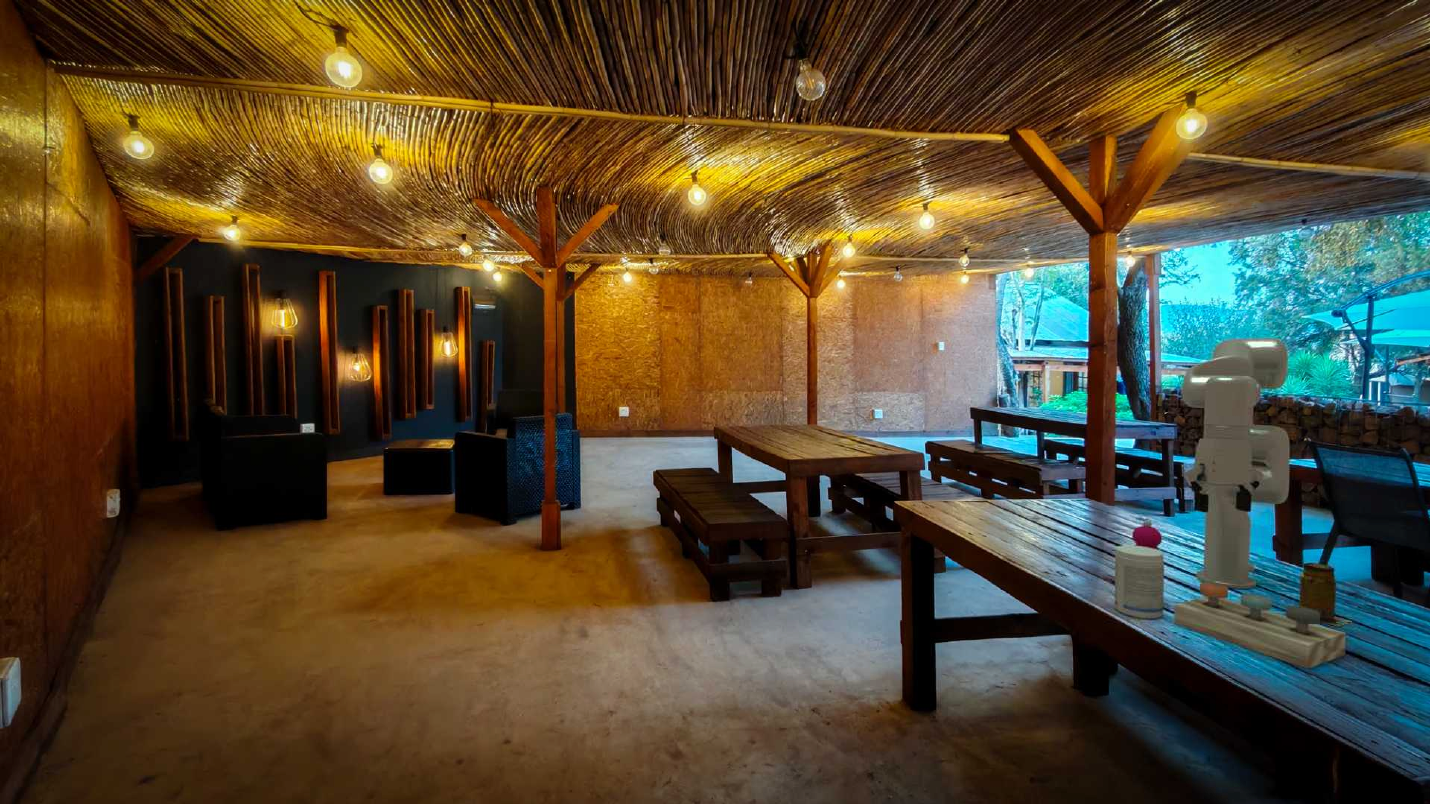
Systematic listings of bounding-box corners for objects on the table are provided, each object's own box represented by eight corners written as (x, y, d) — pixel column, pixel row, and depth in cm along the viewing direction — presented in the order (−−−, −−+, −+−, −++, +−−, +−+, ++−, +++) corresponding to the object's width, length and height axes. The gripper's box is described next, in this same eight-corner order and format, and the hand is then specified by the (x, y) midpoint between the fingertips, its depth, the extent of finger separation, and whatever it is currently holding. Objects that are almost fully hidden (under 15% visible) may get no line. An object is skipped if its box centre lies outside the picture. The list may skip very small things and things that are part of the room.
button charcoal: (1293, 628, 134) (1294, 604, 134) (1324, 638, 129) (1325, 612, 129) (1280, 633, 132) (1281, 608, 132) (1311, 642, 127) (1312, 616, 127)
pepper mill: (1168, 607, 156) (1171, 524, 155) (1134, 605, 158) (1137, 522, 157) (1154, 596, 164) (1157, 517, 163) (1122, 595, 165) (1124, 516, 164)
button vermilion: (1207, 603, 149) (1208, 581, 148) (1232, 610, 144) (1233, 588, 144) (1194, 607, 146) (1194, 584, 146) (1219, 614, 142) (1219, 591, 142)
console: (1211, 614, 152) (1211, 595, 152) (1344, 655, 130) (1345, 632, 130) (1174, 624, 146) (1174, 604, 146) (1307, 668, 124) (1308, 645, 124)
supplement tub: (1173, 618, 150) (1175, 554, 149) (1138, 621, 148) (1140, 557, 147) (1137, 603, 159) (1138, 543, 158) (1104, 606, 157) (1105, 546, 156)
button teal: (1248, 615, 141) (1249, 592, 141) (1275, 623, 137) (1276, 599, 136) (1234, 619, 139) (1235, 595, 139) (1262, 627, 135) (1263, 603, 134)
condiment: (1305, 609, 155) (1308, 559, 154) (1352, 622, 147) (1355, 569, 147) (1289, 614, 152) (1292, 563, 151) (1337, 627, 144) (1339, 574, 143)
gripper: (1248, 431, 147) (1245, 507, 148) (1174, 431, 147) (1171, 507, 147) (1278, 434, 140) (1275, 514, 141) (1200, 435, 139) (1197, 515, 140)
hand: (1222, 510), depth 144 cm, fingers open, 9 cm apart
